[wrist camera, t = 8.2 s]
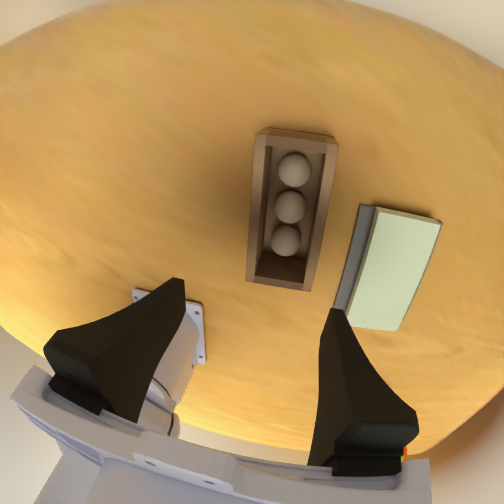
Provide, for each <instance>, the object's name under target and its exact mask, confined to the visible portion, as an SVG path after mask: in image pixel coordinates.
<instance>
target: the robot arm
mask: <svg viewBox="0 0 504 504" xmlns="http://www.w3.org/2000/svg"><path fill="white" fill-rule="evenodd" d="M132 297H133V302H134V303H133V304H131V305H130V306H128V307H126V308H124V309H122V310H120V311H118V312H116V313H114V314H112V315H110V316H107V317H104V318H102V319H99V320H97V321H94V322H91V323H88V324H84V325H81V326H77V327H73V328H67V329H62V330H57V331H56V333H55V334H54V335H53V336H52V337H51V338H50V340H49V341H48V342H47V343H46V344H45V346H44V348H43V351H44V355H45V357H46V359H47V360H48V362H49V364H50V365H51V367H52V368H53V370H54V372H55V375H54V376H53V377H51V375H49V374H48V373H47V372H45V371H43V370H42V369H40V368H39V367H37V366H36V365H33V366H32V368H31V369H30V370H29V371H28V373H27V374H26V375H25V377H24V378H23V380H22V381H21V382H20V384H19V385H18V386H17V388H16V389H15V390H14V392H13V393H12V395H11V396H10V399H11V400H12V402H13V403H14V404H15V405H16V406H17V407H18V408H19V409H20V410H21V411H22V412H23V414H24V415H25V416H26V417H27V418H28V419H29V420H30V421H31V422H32V423H34V424H35V425H36V426H38V427H39V428H40V429H42V430H43V431H45V432H46V433H47V434H49V435H50V436H52V437H53V438H55V439H56V441H57V443H58V445H59V448H60V450H61V452H62V454H63V455H62V457H61V459H60V460H59V462H58V464H57V465H56V467H55V468H54V470H53V472H52V473H51V475H50V477H49V478H48V480H47V482H46V483H45V485H44V487H43V489H42V490H41V492H40V494H39V495H38V497H37V499H36V501H35V502H34V504H431V503H432V502H431V478H430V465H429V459H418V460H408V461H404V462H402V463H401V456H403V455H404V447H405V446H406V445H407V444H409V443H410V442H411V441H412V440H413V439H414V438H415V437H416V436H417V435H418V433H419V425H418V419H417V415H416V411H415V410H413V409H412V408H411V407H410V406H409V405H407V404H406V403H405V402H404V401H403V400H402V399H401V398H400V397H399V396H398V395H397V394H395V393H394V392H393V390H392V389H391V388H390V387H389V386H388V385H387V384H386V383H385V381H384V380H383V379H382V378H381V377H380V375H379V374H378V373H377V372H376V370H375V369H374V367H373V366H372V364H371V363H370V361H369V360H368V358H367V356H366V355H365V353H364V351H363V350H362V348H361V346H360V344H359V342H358V340H357V338H356V336H355V334H354V332H353V330H352V328H351V326H350V324H349V321H348V319H347V317H346V314H345V312H344V310H343V309H336V308H330V311H329V314H328V317H327V320H326V323H325V326H324V329H323V332H322V334H321V337H320V346H319V398H318V408H317V415H316V422H315V428H314V434H313V440H312V445H311V450H310V455H309V459H308V464H307V465H297V464H289V463H282V462H274V461H268V460H262V459H257V458H251V457H246V456H241V455H237V454H232V453H228V452H223V451H219V450H215V449H211V448H208V447H204V446H200V445H197V444H193V443H190V442H186V441H183V440H180V439H178V437H179V434H180V423H179V417H178V415H177V414H176V413H174V412H173V411H174V409H175V406H176V405H177V404H178V403H179V402H180V400H181V399H182V396H183V394H184V392H185V389H186V387H187V385H188V383H189V380H190V378H191V376H192V373H193V371H194V369H195V366H196V364H197V363H199V364H205V363H206V351H205V337H204V321H203V307H202V305H201V304H199V303H195V302H190V301H186V300H185V285H184V280H183V279H179V278H174V277H173V278H171V279H170V280H168V281H167V282H165V283H164V284H162V285H161V286H159V287H158V288H156V289H155V290H153V291H152V292H147V291H143V290H139V289H133V290H132ZM197 311H198V312H197Z"/></svg>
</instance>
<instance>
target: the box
mask: <svg viewBox="0 0 504 504" xmlns="http://www.w3.org/2000/svg"><path fill="white" fill-rule="evenodd" d="M337 151H338V144H337V142H336V140H335V138H334V137H333V136H327V135H321V134H314V133H308V132H301V131H293V130H285V129H276V128H265V129H263V130H261V131H260V132H258V133H257V134H256V135H255V149H254V163H253V177H252V191H251V206H250V220H249V235H248V249H247V264H246V279H245V281H248V282H253V283H259V284H265V285H271V286H277V287H283V288H289V289H295V290H301V291H308V292H311V288H312V284H313V280H314V275H315V271H316V266H317V262H318V257H319V252H320V247H321V242H322V237H323V232H324V227H325V222H326V217H327V212H328V206H329V201H330V195H331V189H332V183H333V177H334V171H335V164H336V158H337Z"/></svg>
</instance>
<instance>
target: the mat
mask: <svg viewBox="0 0 504 504" xmlns="http://www.w3.org/2000/svg"><path fill="white" fill-rule="evenodd" d="M375 210H376V207H375V206H369V205H364V204H360V206H359V211H358V215H357V219H356V224H355V228H354V232H353V236H352V240H351V244H350V248H349V252H348V256H347V260H346V263H345V267H344V271H343V274H342V278H341V281H340V285H339V288H338V292H337V295H336V298H335V302H334V305H333V308H336V309H343V310H344V312H346V309H347V306H348V304H349V301H350V298H351V295H352V292H353V288H354V285H355V282H356V279H357V276H358V272H359V269H360V266H361V262H362V259H363V256H364V252H365V249H366V245H367V241H368V238H369V234H370V230H371V226H372V222H373V218H374V214H375ZM437 221H438V220H437ZM438 223H439V224H440V225H441V226H440V229H439V232H438V235H437V238H438V236H439V233H440V230H441V227H442V224H443V223H442V222H441V221H438ZM437 238H436V241H437ZM436 241H435V243H434V246H433V249H432V252H433V250H434V247H435V244H436ZM432 252H431V254H430V257H431V255H432ZM430 257H429V260H430ZM429 260H428V262H427V265H428V263H429ZM427 265H426V267H425V270H426V268H427ZM425 270H424V272H423V275H424V273H425ZM423 275H422V277H423ZM422 277H421V280H422ZM421 280H420V282H421ZM420 282H419V284H420ZM419 284H418V287H419ZM418 287H417V289H418ZM417 289H416V291H417ZM416 291H415V293H414V296H415V294H416ZM414 296H413V298H414ZM413 298H412V300H413ZM412 300H411V302H412ZM411 302H410V304H409V307H410V305H411ZM409 307H408V309H409ZM408 309H407V311H408ZM407 311H406V313H407ZM406 313H405V315H406ZM405 315H404V317H405ZM404 317H403V319H404ZM403 319H402V321H403Z"/></svg>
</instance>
